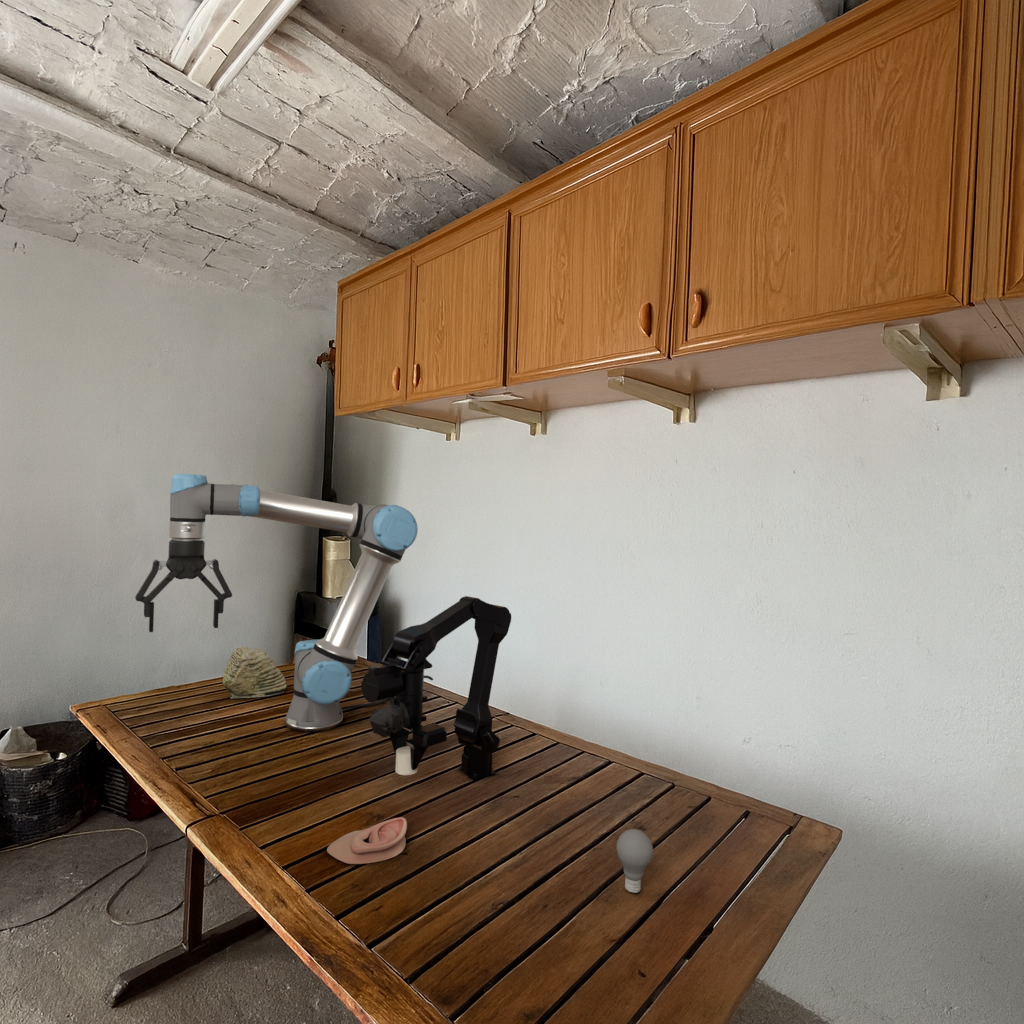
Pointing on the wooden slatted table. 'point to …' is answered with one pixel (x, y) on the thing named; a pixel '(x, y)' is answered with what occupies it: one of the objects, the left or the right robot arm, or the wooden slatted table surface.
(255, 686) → the fossil
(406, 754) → the can
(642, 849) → the light bulb
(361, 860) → the anatomical model
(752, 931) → the wooden slatted table surface
